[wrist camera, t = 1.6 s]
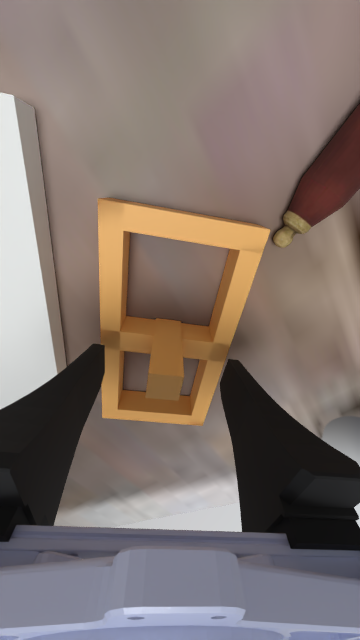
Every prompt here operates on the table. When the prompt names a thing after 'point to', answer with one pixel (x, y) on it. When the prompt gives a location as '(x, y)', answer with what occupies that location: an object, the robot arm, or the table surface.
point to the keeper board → (25, 261)
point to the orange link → (162, 334)
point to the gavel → (325, 183)
